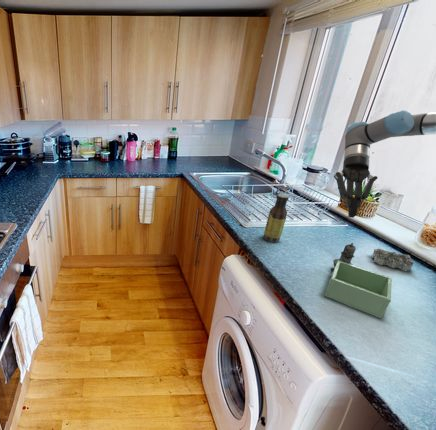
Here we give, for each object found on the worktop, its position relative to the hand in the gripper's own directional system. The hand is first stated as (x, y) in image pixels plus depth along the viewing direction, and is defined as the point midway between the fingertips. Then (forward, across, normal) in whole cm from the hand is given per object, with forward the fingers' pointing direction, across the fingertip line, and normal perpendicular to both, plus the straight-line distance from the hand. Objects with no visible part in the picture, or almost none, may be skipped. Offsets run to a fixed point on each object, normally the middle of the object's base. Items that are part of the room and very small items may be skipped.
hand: (352, 215), depth 102 cm
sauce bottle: (+9, +22, -15) cm, 29 cm away
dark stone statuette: (+20, +1, -4) cm, 21 cm away
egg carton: (+10, -18, -15) cm, 25 cm away
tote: (+29, 0, +5) cm, 30 cm away
